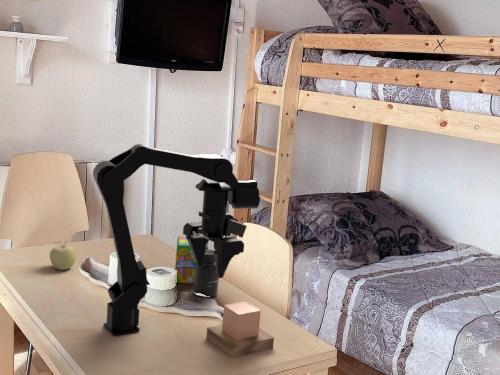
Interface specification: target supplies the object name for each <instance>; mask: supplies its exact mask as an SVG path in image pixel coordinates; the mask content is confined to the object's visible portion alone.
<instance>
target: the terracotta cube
mask: <svg viewBox="0 0 500 375" xmlns="http://www.w3.org/2000/svg"><path fill="white" fill-rule="evenodd" d="M261 313H262V312H261V309H259V308H258V307H255V306H254V305H252V304H251V303H249V302H247V301H246V300H245V301H241V302H234V303H229V304H224V305H223V312H222V324H221V325H222V330H223V331H224V332H226V333H227V334H229V335H230V336H231V337H233V338H234V339H236V340H239V339H244V338H249V337H253V336H258V335H259V328H260V323H261Z"/></svg>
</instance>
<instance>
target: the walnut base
mask: <svg viewBox="0 0 500 375" xmlns="http://www.w3.org/2000/svg"><path fill="white" fill-rule="evenodd" d="M205 337H206V339H208V340H209V341H210V342H212V343H213V344H214V345H215V346H217V347H218V348H219V349H220V350H222V351H224V352H225V353H226V354H228V355H229V356H230V357H231V358H236V357H241V356H246V355H249V354H253V353H258V352H262V351H267V350H270V349H273V348H274V342H275V341H274V340H275V338H274V336H272V335H271V334H269V333H267V332H266V331H265V330H262V329H261V328H260V327H259V335H258V336H253V337H249V338H244V339H239V340H236V339H234V338H233V337H231V336H230V335H229V334H227V333H226V332H224V331H223V330H222V324H218V325H214V326H209V327H207V328H206V336H205Z"/></svg>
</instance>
